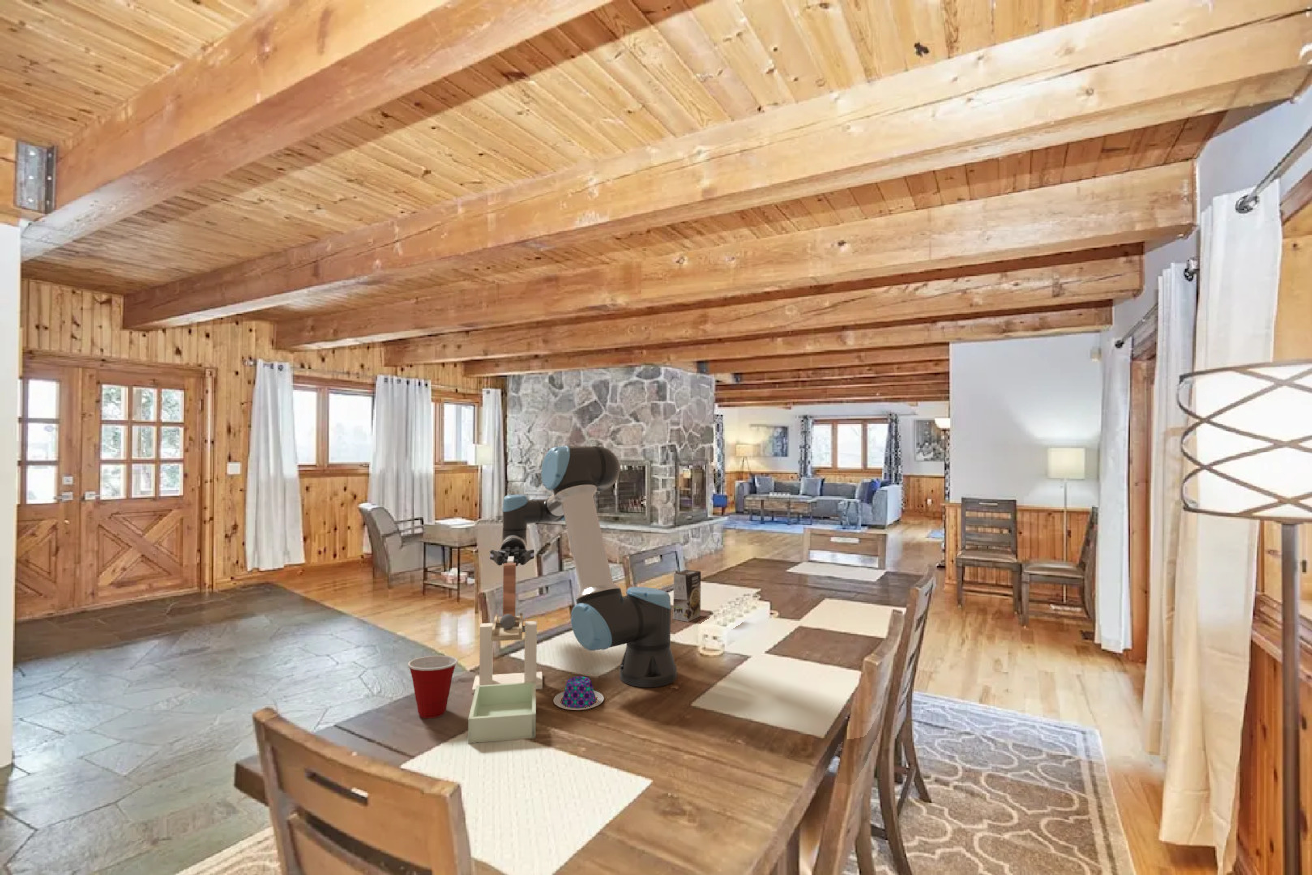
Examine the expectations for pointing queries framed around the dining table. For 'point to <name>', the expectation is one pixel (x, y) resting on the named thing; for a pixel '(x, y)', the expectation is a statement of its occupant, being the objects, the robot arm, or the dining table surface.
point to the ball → (507, 621)
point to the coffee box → (687, 595)
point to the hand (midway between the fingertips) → (510, 566)
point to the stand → (528, 675)
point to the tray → (503, 712)
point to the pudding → (578, 694)
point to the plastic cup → (432, 683)
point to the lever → (508, 607)
